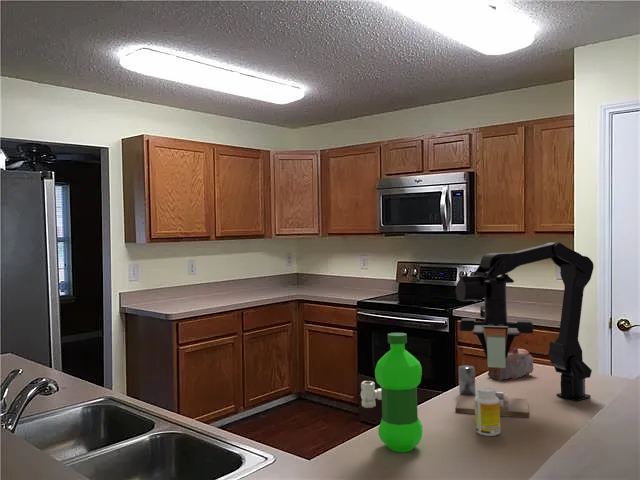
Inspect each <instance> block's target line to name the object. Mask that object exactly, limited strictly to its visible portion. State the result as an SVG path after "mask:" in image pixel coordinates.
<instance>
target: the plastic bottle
mask: <svg viewBox="0 0 640 480" xmlns="http://www.w3.org/2000/svg"><path fill="white" fill-rule="evenodd" d="M407 343H408V335H407V333H405V332H391V333H387V344H390V345H389V346H390V350H389V351H387V352H386V353H385V354H384V355H383V356H382V357H380V359H379V360H377V363H376V365H375V369H374V377H375V382H376V383H377V384H378V385H379V387H380V388H381V395H382V400H381V412H382V413H381V420H380V423H379V426H378V436H379V438H380V440H381V442H382V443H383V444H384V445H385V446H387V447H388V448H389V449H390V450H391V451H393V452H397V453H405V452H411V451H412V450H413V449H414V448H416V446H418V445H419V444H420V442H421V440H422V438H423V424H422V423H421V420H420V418H419V417H418V416H419V415H418V391H417V390H418V386H419V385H420V384H421V381H422V377H423V376H422V375H423V373H422V372H423V369H422V368H423V367H422V365H421V363H420V361H419V360H418V359H417V358H416V357H415V356H414V355H413V354H412V353H411V352H409V351H408V350H406V347H405V346H406V344H407Z"/></svg>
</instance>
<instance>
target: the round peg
mask: <svg viewBox="0 0 640 480" xmlns="http://www.w3.org/2000/svg"><path fill="white" fill-rule="evenodd" d="M458 381H459V382H458V386H459V387H458V389H459V391H458V392H459V395H467V396H476V392H477V390H476V369H475V366H473V365H466V364H465V365H459V366H458Z"/></svg>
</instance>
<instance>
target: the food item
mask: <svg viewBox="0 0 640 480" xmlns="http://www.w3.org/2000/svg"><path fill="white" fill-rule="evenodd" d="M505 348H506V345H505ZM505 361H506V365H505V368H498V367H488V366H487V370H488V373H487V376H488V377H490V378H491V379H493V380H494V379H495V380H497V381H503V379H504V380H509V379H508V378H510V379H513V378H518V377H520V376H522V377H525V376H524V375H527V376H529V375H530V374H532V373H533V371H534V369H535V368H534V357H533V356H532V355H531V354H530V352H529V351H528V350H526V349H524V348H517V347H515V346H510V349H509V352H508V355H507V358H505ZM520 378H521V377H520ZM518 379H519V378H518Z"/></svg>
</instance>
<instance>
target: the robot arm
mask: <svg viewBox="0 0 640 480" xmlns="http://www.w3.org/2000/svg"><path fill="white" fill-rule="evenodd" d="M548 259H550V260H551V261H552V263H554V264H555V266H557V267H559V269H560V278H561V281H562V283H563V285H564V289H563V298H562V308H561V314H560V315H561V316H560V325H559V331H558V336H557V338H556V340H555V341H549V349H548V353H547V356H548V357H549V363H551V365H552V366H553V367H554V370H555V372H556V373H559V374H561V375H560V392H559V393H556V396H557V397H560V398H564V399H567V400H572V401H575V402H578V401H582V400H584V399H588V398H591V394H587V393H586V379H589V378H591V376H592V372H593V371H592V370H593V369H592V368H590V367H589V366H588V364H586V363H585V362H584V361H583V359H584V358H583V350H582V347H581V344H580V340H579V335H580V334H579V332H580V327H581V326H580V324H581V317H582V307H583V299H584V292H585V291H584V290H585V287H587V285H588V283H589V282H590V280H591V279H592V276H593V272H594V266H595V265H594V262H593V261H592V260H591V258H590V257H588V256H586V255H582V254H581V253H579V252H577V251H575V250H573V249H571V248H569V247H568V246H565V245H564V244H563V243H561V242H557V241H556V242H547V243H545V244H541V245H537V246H533V247H529V248H524V249H519V250H516V251H513V252H512V251H511V252H492V253H491V252H490V253H486V254H483V256H482V257H481V260H480V264H479V265H478V266H477V268H476V269H475V271H474V272H473V275H470V276H469V275H459V280H458V281H457V283H456V286H455V295H456V298H457V299H458V301H459V302H470V301H471V302H472V301H473V302H474V301H477V302H478V301H482V300H484V301H483V302H484V305H480V308H479V309H480V310H479V314H480V319H484V321H476V318H475V317H474V318H471V317H470V318H468V317H463V318H461V320H460V321H459V331H460V332H472V335H476V336H477V339H478V340H479V342H480V344H481V346H482V349H483V352H484V355H485V357H486V358H487V336H486V329H488V330H491V329H492V330H494V329H495V330H507V332H506V333H507V334H506V339H505V346H506V348H505V358H507V355H508V352H509V349H510V347H512V343H513V341H514V340H515V337H519V336H520V334H534V323H533V321H532V320H531V319H516V322H510V321H509V322H508V311H507V310H508V306H507V303H508V302H507V284H513V283H514V282H515V280H514V279H513V278H511V277H510V276H509V275H508V273H510V272H512V271H514V270H515V269H516V268H518V267H520V266H524V265H528V264H531V263H535V262H540V261H543V260H548Z"/></svg>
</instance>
